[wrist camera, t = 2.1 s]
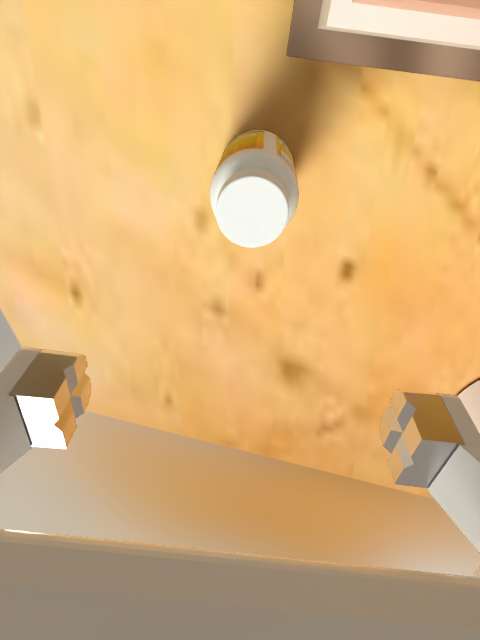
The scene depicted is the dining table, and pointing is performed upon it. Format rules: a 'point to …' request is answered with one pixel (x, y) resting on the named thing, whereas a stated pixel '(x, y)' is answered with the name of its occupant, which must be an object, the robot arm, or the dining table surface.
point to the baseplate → (375, 48)
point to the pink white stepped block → (407, 20)
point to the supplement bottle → (254, 189)
